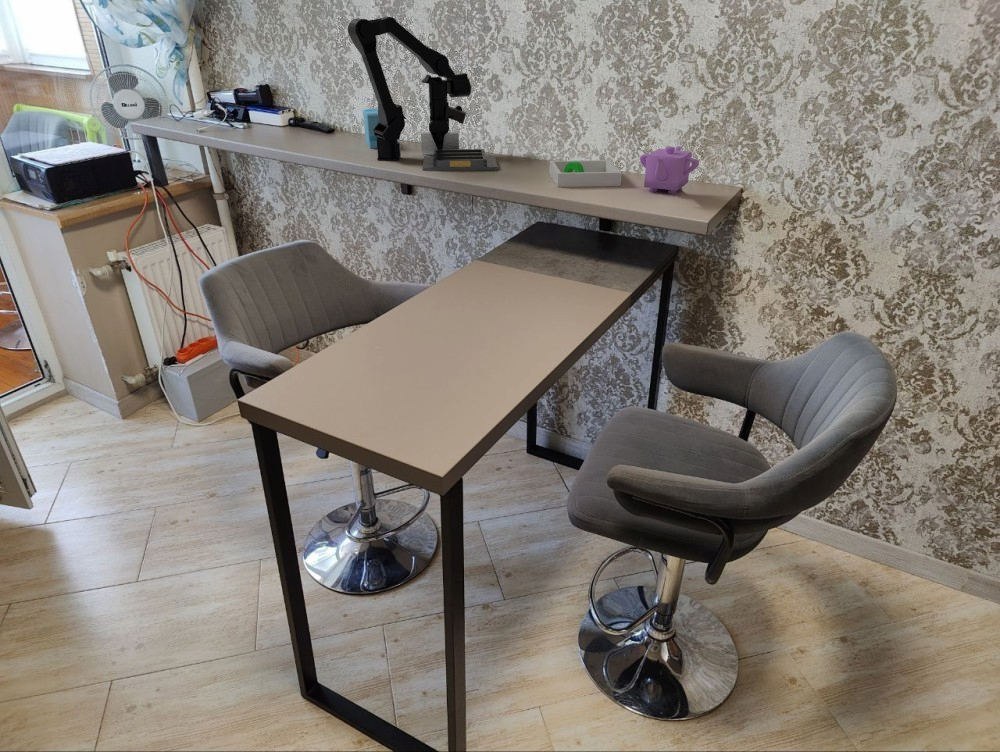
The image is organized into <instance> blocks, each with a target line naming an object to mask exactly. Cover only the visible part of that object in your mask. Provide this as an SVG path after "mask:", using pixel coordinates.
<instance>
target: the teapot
mask: <svg viewBox="0 0 1000 752" xmlns="http://www.w3.org/2000/svg"><path fill="white" fill-rule="evenodd" d="M692 154H693V152H692V151H691V150H690V151H688V150H682V146H681V145H679V146H676V147H675V146H665V147H664V148H658V149H656V150H654V151H652V152H650V153H644V154H641V155H640V157H639V161H640V163H641V165H642V166H643V168H645V169H644V170H645V174H644V182H643V187H644V188H648V192H651V193H656V192H658V190H668V191H667V192H668V194H669V195H678V191H682V190H683V187H684V186H686V185H687V184H688V183H689V176H690V173H692V172H693V171H695V170H696V169H697V168H698V167H699V165H700V161H699V160H698V159H697V158H694V157H692Z"/></svg>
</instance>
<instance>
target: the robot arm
mask: <svg viewBox="0 0 1000 752" xmlns="http://www.w3.org/2000/svg"><path fill="white" fill-rule="evenodd" d="M347 33H348V36H349V37H350V40H351V41H352V43H353V45H354V47H355V48H356V50H357V51H358V53H359V54H360V56H361V58H362V61H363V64H364V66H365V69H366V72H367V75H368V79H369V82H370V85H371V88H372V91H373V93H374V96H375V99H376V101H377V110H378V117H379V123H378V124H377V125H376V127H375V128H374V129H373V133H374V135H375V137H377V148H376V149H377V160H376V161H399V159H400V158H401V154H402V153H401V142H399V140H400V137H401V135H402V132H403V130H404V128H405V126H406V119H407V118H406V116H405V113H404V109H403V107H402V105H400V104H397V103H395V102H394V101H393V97H392V94H391V92H390V88H389V85H388V83H387V79H386V77H385V74H384V71H383V67H382V65H381V61H380V58H379V56H378V52H377V36H381V35H384V34H387V35H388V36H390V37H392V39H393V40H395V41H396V42H397V43H399V44H400V45H401V46H402V47H404V49H406V50H407V51H408V52H410V53H411V54H412V55H413V56H415V58H416V59H417V60H418V61H419V63H420V65H421V67H423V68H424V70H425V71H426V72H427V73H429V74H425V76H424V78H423V79H422V80H421V83H423V84H428V98H429V99H428V101H429V102H428V103H429V122H428V131H429V132H430V133H431V135H432V138H433V140H434V142H435V144H436V147H437V149H438V150H442V149H443V142H444V136H445V134H446V133H447V132H450V120H453V121H455V122H458V123H459V124H462V125H463V124H464V123H465V119H466V117H467V116H466V115H467V112H465V111H463V107H462V106H460V105H458V104H457V105H456V106H455V107H453V106H450V105H449V100H448V95H449V97H450V98H465V97H466V98H467V97H469V96H471V93H472V84H471V82H470V79H469V77H468V73H464V72H463V73H462V72H461V73H458V74H455V72H454V70H453V69H452V67H451V66H450V61H449V58H448V57H447V56H446V55H444V54H443V53H441V52H439V51H437V50H435V49H434V48H430V47H429V46H427V45H426V44H424V42H422V41H420V39H418V38H417V37H416V36H415V35H413V33H411V32H410V31H408V30H407V28H405V27H404V26H403V25H401V23H399V22H398V21H397V20H396V18H394V17H393V16H384V17H381V18H375V19H366V18H353V19H351V20H350V22H349V23H348V26H347ZM430 74H432V75H436V76H432V75H430ZM442 78H445V79H442Z"/></svg>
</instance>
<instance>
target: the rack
mask: <svg viewBox="0 0 1000 752" xmlns="http://www.w3.org/2000/svg"><path fill="white" fill-rule="evenodd" d="M421 169H422V171H424V172H425V171H427V172H428V171H429V172H430V171H434V172H435V171H436V172H438V171H441V172H443V171H446V172H450V171H451V172H455V171H456V172H467V171H468V172H472V171H473V172H474V171H475V172H479V171H483V172H485V171H499V166H498V163H497V159H496V156H495V155H491V154H489V155H486V151H485V148H473V149H472V148H470V149H469V148H468V149H466V148H464V149H460V148H459V149H450V150H434V155H423V162H422V168H421Z"/></svg>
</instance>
